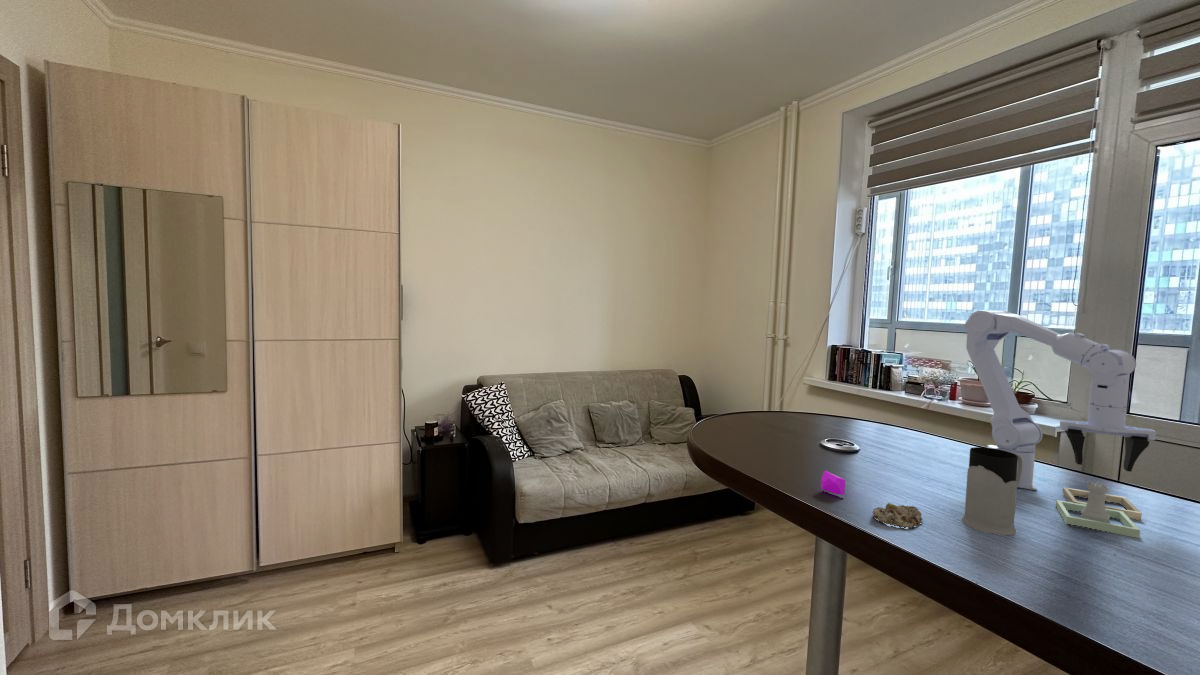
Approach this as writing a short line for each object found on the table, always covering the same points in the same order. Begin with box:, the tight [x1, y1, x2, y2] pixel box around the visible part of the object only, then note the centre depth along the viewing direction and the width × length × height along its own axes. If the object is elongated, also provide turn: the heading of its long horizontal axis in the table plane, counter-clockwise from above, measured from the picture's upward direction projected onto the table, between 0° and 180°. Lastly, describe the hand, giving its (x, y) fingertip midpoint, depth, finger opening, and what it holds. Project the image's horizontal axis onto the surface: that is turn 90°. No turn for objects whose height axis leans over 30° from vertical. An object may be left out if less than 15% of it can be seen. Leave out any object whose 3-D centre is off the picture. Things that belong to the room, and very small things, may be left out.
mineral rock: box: [872, 502, 923, 529], centre depth 101 cm, size 11×4×8 cm
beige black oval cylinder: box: [961, 446, 1022, 536], centre depth 100 cm, size 9×14×15 cm, turn 113°
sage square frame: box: [1055, 499, 1141, 539], centre depth 102 cm, size 10×10×2 cm
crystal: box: [820, 470, 846, 495], centre depth 115 cm, size 5×5×5 cm
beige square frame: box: [1062, 486, 1143, 521], centre depth 110 cm, size 10×10×2 cm
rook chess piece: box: [1079, 481, 1111, 524], centre depth 102 cm, size 4×4×8 cm
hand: (1102, 466), depth 108 cm, fingers open, 7 cm apart
